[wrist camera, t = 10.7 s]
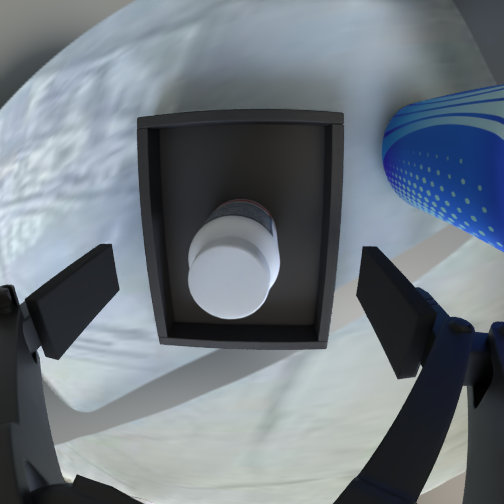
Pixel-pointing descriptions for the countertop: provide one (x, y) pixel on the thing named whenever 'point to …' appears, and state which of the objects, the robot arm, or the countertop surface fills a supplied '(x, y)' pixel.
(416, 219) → the countertop surface
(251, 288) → the pill bottle
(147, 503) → the champagne flute
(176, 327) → the tray
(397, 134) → the beer can
